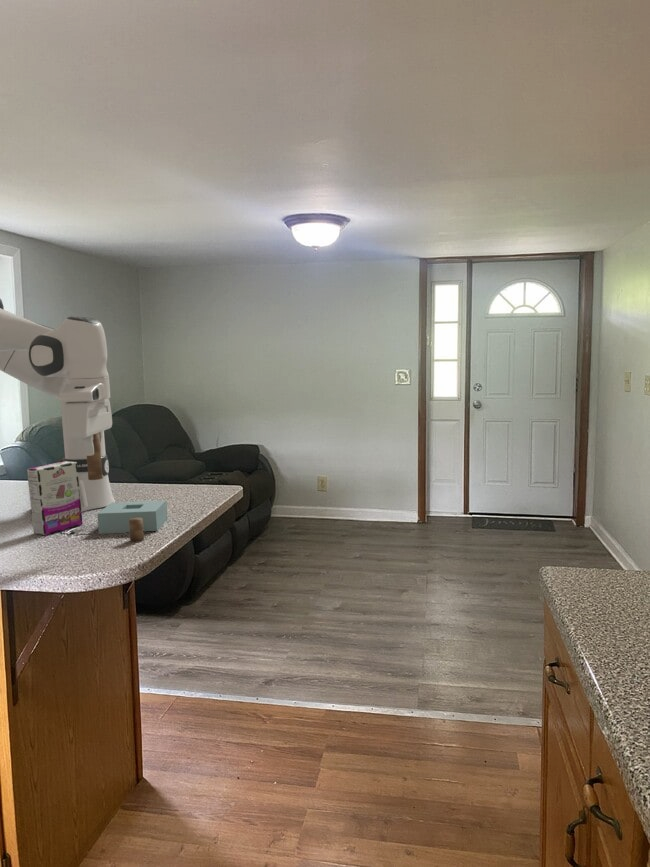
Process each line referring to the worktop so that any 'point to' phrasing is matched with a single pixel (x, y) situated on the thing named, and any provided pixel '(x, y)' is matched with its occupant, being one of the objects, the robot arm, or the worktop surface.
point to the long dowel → (95, 461)
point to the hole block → (132, 516)
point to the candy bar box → (54, 497)
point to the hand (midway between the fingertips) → (93, 453)
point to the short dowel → (136, 529)
